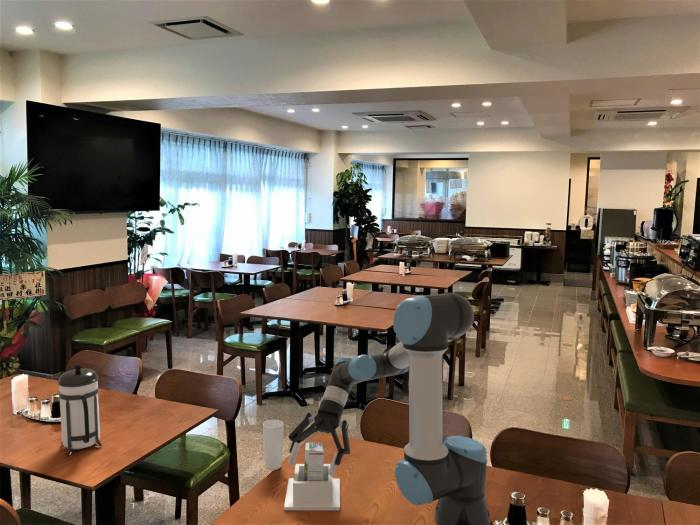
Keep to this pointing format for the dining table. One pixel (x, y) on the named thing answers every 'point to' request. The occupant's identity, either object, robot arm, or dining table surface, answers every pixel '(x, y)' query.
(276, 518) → the dining table surface
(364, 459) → the dining table surface
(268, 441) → the drinking glass
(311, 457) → the syrup box
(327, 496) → the holder
